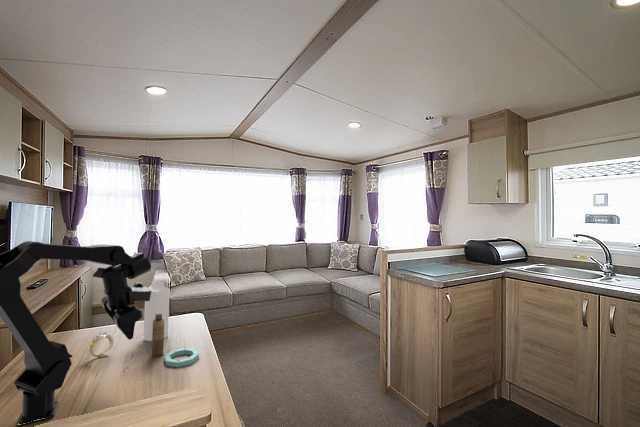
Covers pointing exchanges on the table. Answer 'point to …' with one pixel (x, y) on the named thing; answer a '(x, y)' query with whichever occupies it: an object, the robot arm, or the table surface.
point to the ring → (99, 336)
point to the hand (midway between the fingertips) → (126, 332)
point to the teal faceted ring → (182, 362)
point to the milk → (156, 308)
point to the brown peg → (158, 336)
